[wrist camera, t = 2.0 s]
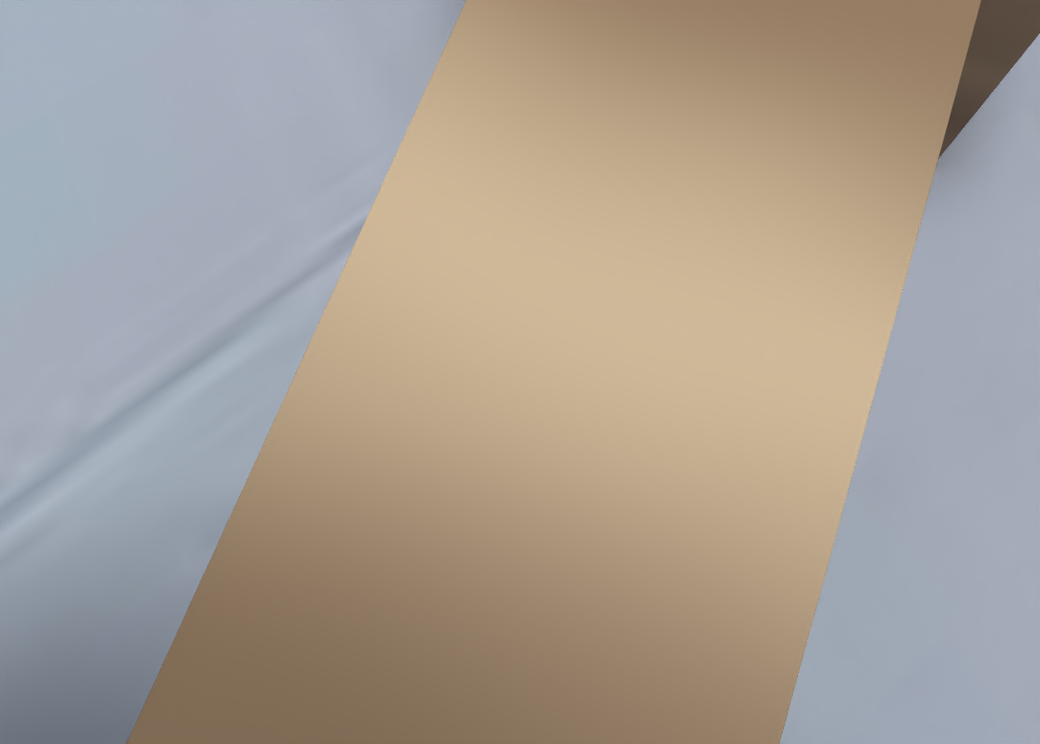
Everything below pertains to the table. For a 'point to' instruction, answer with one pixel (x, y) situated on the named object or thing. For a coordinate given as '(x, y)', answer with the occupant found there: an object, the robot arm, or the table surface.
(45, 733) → the table surface
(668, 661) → the tan wooden block
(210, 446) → the table surface
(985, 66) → the end cap
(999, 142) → the table surface
